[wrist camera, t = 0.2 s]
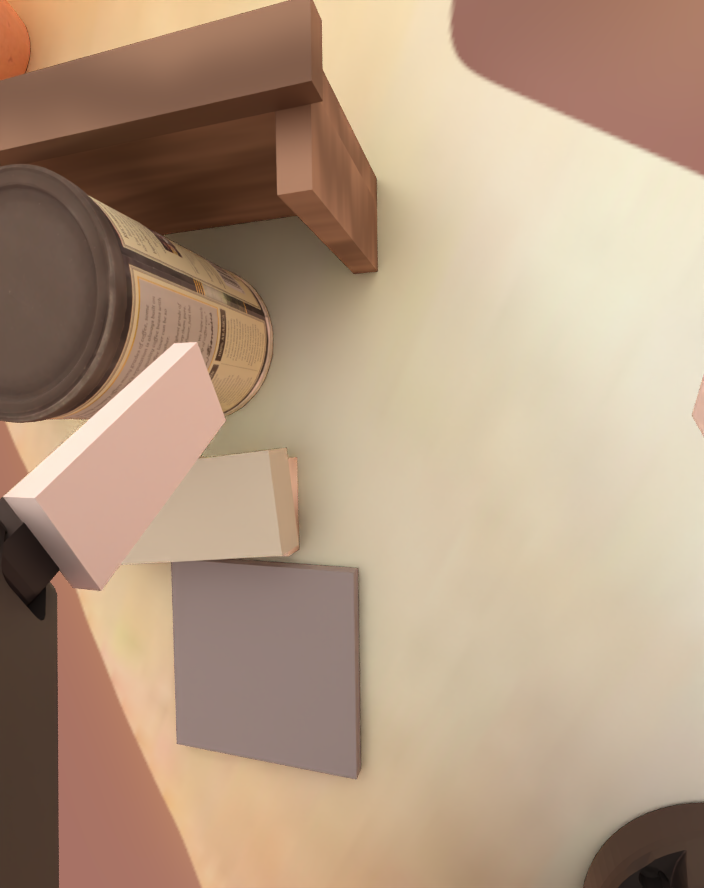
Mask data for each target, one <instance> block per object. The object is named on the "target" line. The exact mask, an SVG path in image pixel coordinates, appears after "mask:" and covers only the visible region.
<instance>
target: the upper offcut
mask: <svg viewBox="0 0 704 888" xmlns="http://www.w3.org/2000/svg"><path fill="white" fill-rule="evenodd" d="M298 545H299V540H298V533H297V525H296V517H295V510H294V502H293V494H292V487H291V479H290V471H289V463H288V456H287V448H278V449H270V450H262V451H254V452H246V453H238V454H230V455H222V456H213V457H205V458H198V459H197V461H196V462H195V464H194V465H193V466H192V468H191V469H190V470H189V472H188V473H187V474H186V476H185V477H184V479H183V480H182V481H181V483H180V484H179V485H178V487H177V488H176V489H175V491H174V492H173V494H172V495H171V496H170V498H169V499H168V500H167V502H166V503H165V505H164V506H163V507H162V509H161V510H160V511H159V513H158V514H157V515H156V517H155V518H154V520H153V521H152V522H151V524H150V525H149V526H148V528H147V529H146V530H145V532H144V533H143V535H142V536H141V537H140V539H139V540H138V541H137V543H136V544H135V545H134V547H133V548H132V550H131V551H130V552H129V554H128V555H127V556H126V558H125V559H124V561H123V562H122V563H121V565H127V564H145V563H163V562H181V561H199V560H216V559H234V558H252V557H270V556H283V555H284V554H286V553H287V552H289V551H290V550H292V549H293V548H295V547H296V546H298Z"/></svg>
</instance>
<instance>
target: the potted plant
mask: <svg viewBox="0 0 704 888" xmlns="http://www.w3.org/2000/svg"><path fill="white" fill-rule="evenodd" d="M29 57H30V40H29V36H28V32H27V28H26V26H25V25H24V23H23V22H22V20H21V19H20V18H19V16H18V15H17V13H16V12H15V10H14V9H13V8H12V6H11V5H10V4H9V3H8V2H7V1H6V0H0V80H4V79H8V78H11V77H15V76H18V75H22V74H25V72H26V69H27V65H28V62H29Z"/></svg>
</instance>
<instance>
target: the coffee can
mask: <svg viewBox="0 0 704 888" xmlns="http://www.w3.org/2000/svg"><path fill="white" fill-rule="evenodd" d="M189 342H197V343H198V346H199V348H200V351H201V354H202V357H203V359H204V362H205V365H206V368H207V370H208V373H209V376H210V378H211V381H212V384H213V387H214V389H215V392H216V395H217V397H218V400H219V403H220V406H221V408H222V411H223V414H224V416H227V415H229V414H231V413H233V412H235V411H237V410H239V409H240V408H242V407H243V406H244V405H245V404H246V403H247V402H248V401H249V400H250V399H251V398H252V397H253V396H254V395H255V394H256V393H257V391H258V390H259V388H260V387H261V385H262V383H263V381H264V379H265V377H266V375H267V372H268V370H269V366H270V362H271V359H272V353H273V330H272V325H271V320H270V317H269V314H268V311H267V309H266V306H265V304H264V303H263V301H262V298H261V297H260V296H259V295H258V293H257V292H256V291H255V290H254V288H253V287H252V286H251V285H250V284H249V283H248V282H247V281H245V280H244V279H242V278H241V277H240V276H238V275H236V274H234V273H232V272H230V271H227V270H225V269H222V268H221V267H219V266H217V265H215V264H213V263H212V262H210V261H208V260H206V259H205V258H203V257H201V256H199V255H197V254H195V253H193V252H192V251H190V250H188V249H186V248H184V247H182V246H181V245H179V244H177V243H175V242H173V241H171V240H169V239H168V238H166V237H164V236H162V235H160V234H158V233H157V232H155V231H153V230H151V229H149V228H148V227H146V226H144V225H142V224H141V223H139V222H137V221H135V220H133V219H131V218H129V217H128V216H126V215H124V214H122V213H120V212H118V211H116V210H115V209H113V208H111V207H109V206H107V205H105V204H103V203H102V202H100V201H98V200H96V199H94V198H92V197H91V196H89V195H87V194H86V193H85V192H84V191H83V190H82V189H80V188H79V187H78V186H76V185H75V184H74V183H72V182H71V181H69V180H67V179H66V178H64V177H63V176H61V175H59V174H57V173H55V172H53V171H51V170H49V169H47V168H44V167H40V166H36V165H29V164H12V165H6V166H0V421H6V422H16V423H24V422H36V421H42V420H46V419H90V418H91V417H93V416H94V415H95V414H96V413H97V412H98V411H99V410H100V409H102V408H103V407H104V406H105V405H106V404H107V403H108V402H109V401H110V400H112V399H113V398H114V397H115V396H116V395H117V394H118V393H119V392H120V391H122V390H123V389H124V388H125V387H126V386H127V385H128V384H129V383H131V382H132V381H133V380H134V379H135V378H136V377H137V376H138V375H139V374H141V373H142V372H143V371H144V370H145V369H146V368H147V367H148V366H150V365H151V364H152V363H153V362H154V361H155V360H156V359H157V358H158V357H160V356H161V355H162V354H163V353H164V352H165V351H166V350H167V349H169V348H170V347H171V346H172V345H173V344H174V343H189Z"/></svg>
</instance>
